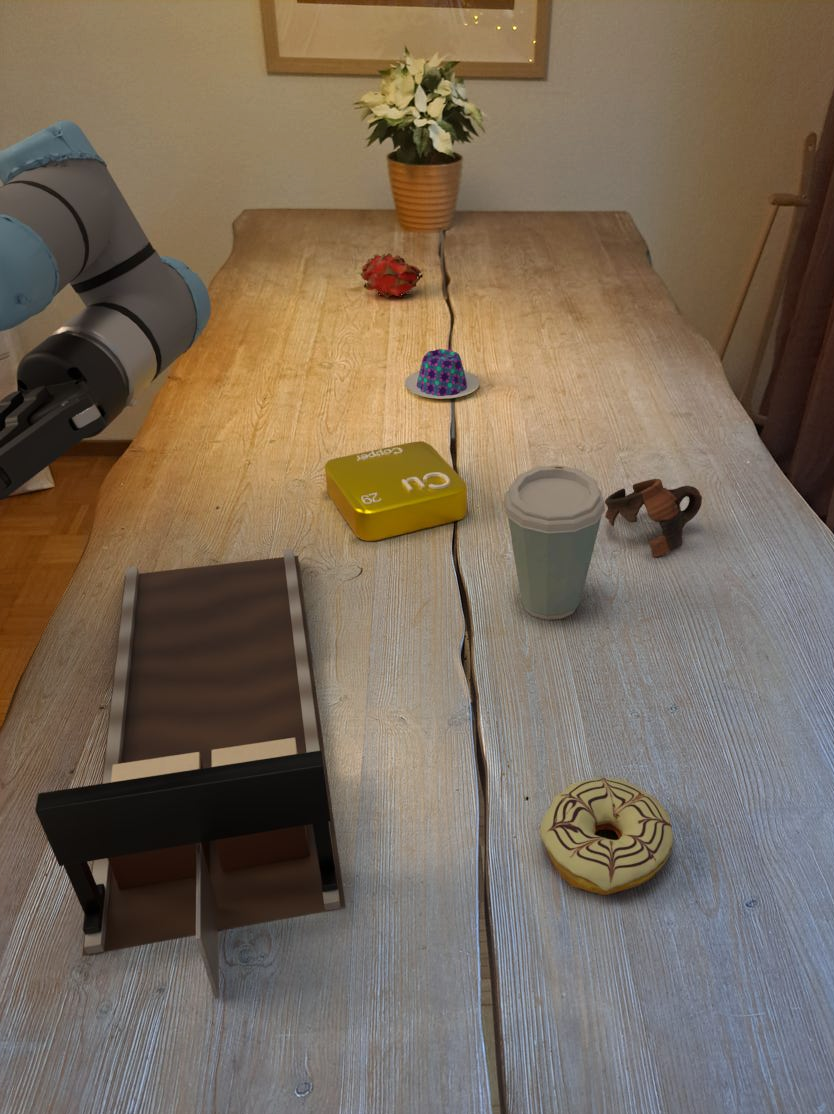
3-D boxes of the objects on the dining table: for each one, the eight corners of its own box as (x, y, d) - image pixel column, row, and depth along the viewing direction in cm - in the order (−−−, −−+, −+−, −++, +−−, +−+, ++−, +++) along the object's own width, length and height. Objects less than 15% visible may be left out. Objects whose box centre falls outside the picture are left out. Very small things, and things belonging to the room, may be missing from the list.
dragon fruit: (357, 302, 184) (418, 310, 186) (360, 289, 176) (423, 296, 178) (360, 258, 184) (421, 266, 186) (362, 242, 175) (426, 251, 177)
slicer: (89, 897, 73) (40, 780, 65) (336, 855, 77) (320, 738, 68) (75, 1026, 65) (16, 911, 56) (351, 972, 68) (335, 855, 60)
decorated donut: (515, 848, 79) (517, 819, 77) (596, 782, 85) (600, 753, 83) (612, 924, 73) (617, 895, 71) (692, 847, 79) (699, 818, 77)
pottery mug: (636, 570, 112) (613, 506, 110) (609, 560, 121) (587, 500, 119) (724, 530, 113) (704, 466, 111) (690, 523, 122) (671, 463, 120)
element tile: (426, 466, 130) (425, 434, 127) (472, 518, 120) (472, 485, 117) (323, 489, 125) (319, 456, 122) (361, 545, 115) (358, 511, 112)
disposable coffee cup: (590, 638, 101) (603, 519, 92) (491, 626, 103) (494, 507, 93) (598, 581, 109) (611, 467, 100) (507, 571, 111) (511, 457, 101)
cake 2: (221, 789, 82) (211, 749, 79) (301, 776, 84) (295, 737, 80) (222, 871, 76) (212, 831, 72) (310, 856, 77) (303, 816, 74)
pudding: (492, 380, 152) (493, 349, 149) (457, 409, 144) (457, 376, 141) (428, 366, 157) (427, 335, 153) (390, 393, 148) (389, 361, 145)
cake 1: (126, 804, 81) (112, 764, 78) (209, 791, 82) (199, 751, 79) (119, 889, 74) (103, 849, 71) (209, 874, 75) (198, 834, 72)
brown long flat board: (127, 583, 108) (122, 567, 107) (298, 563, 112) (296, 547, 110) (85, 965, 70) (78, 948, 69) (347, 916, 74) (344, 900, 72)
